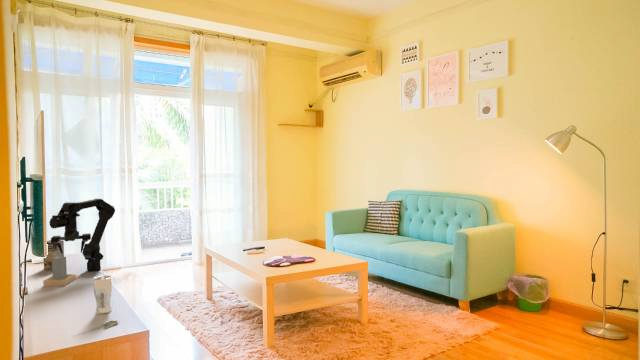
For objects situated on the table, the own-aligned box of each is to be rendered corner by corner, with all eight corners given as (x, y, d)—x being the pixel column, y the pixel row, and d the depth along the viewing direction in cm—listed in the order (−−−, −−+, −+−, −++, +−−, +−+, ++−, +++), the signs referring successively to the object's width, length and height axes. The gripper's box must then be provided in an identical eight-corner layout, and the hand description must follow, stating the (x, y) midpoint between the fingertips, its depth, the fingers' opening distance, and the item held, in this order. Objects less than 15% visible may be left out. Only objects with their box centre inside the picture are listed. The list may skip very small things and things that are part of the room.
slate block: (67, 280, 230) (66, 256, 229) (61, 283, 226) (60, 258, 225) (58, 280, 230) (57, 256, 229) (52, 282, 226) (51, 258, 225)
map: (121, 323, 175) (121, 321, 175) (69, 343, 157) (69, 341, 157) (113, 321, 177) (113, 319, 177) (62, 340, 160) (62, 338, 160)
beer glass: (92, 311, 187) (90, 277, 186) (108, 307, 192) (107, 274, 191) (98, 315, 182) (96, 281, 181) (115, 311, 187) (114, 277, 186)
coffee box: (43, 269, 253) (41, 242, 252) (50, 266, 260) (49, 240, 259) (57, 269, 252) (56, 242, 251) (65, 267, 259) (64, 240, 258)
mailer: (80, 276, 240) (80, 270, 240) (65, 285, 223) (65, 280, 223) (60, 276, 239) (60, 271, 239) (43, 286, 222) (43, 280, 222)
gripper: (48, 229, 226) (49, 258, 227) (88, 226, 234) (89, 254, 235) (51, 225, 236) (53, 253, 237) (90, 223, 244) (91, 250, 245)
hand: (71, 253), depth 238 cm, fingers open, 9 cm apart
